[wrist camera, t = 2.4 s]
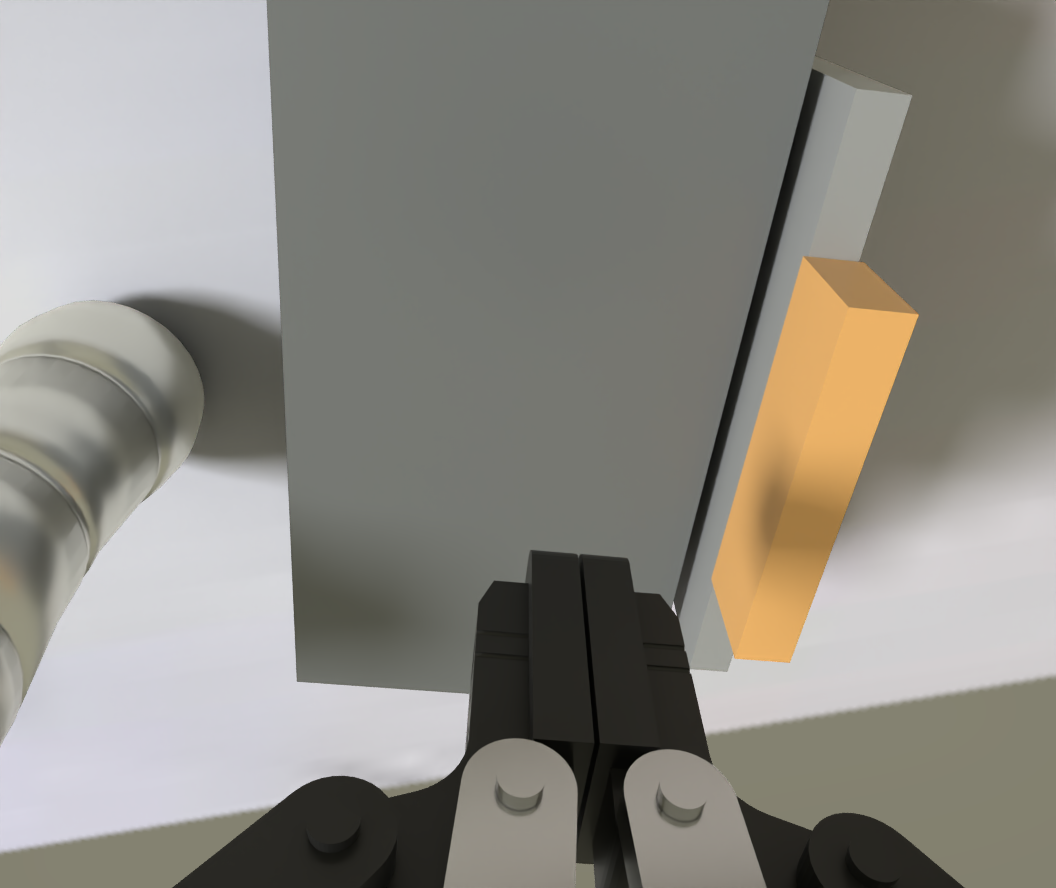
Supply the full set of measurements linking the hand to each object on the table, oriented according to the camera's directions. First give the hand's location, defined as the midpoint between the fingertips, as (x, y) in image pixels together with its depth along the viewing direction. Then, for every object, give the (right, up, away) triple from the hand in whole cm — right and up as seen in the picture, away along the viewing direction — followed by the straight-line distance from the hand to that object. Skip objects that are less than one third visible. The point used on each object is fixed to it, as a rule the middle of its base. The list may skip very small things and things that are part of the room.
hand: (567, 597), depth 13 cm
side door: (+5, +8, +14) cm, 17 cm away
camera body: (-1, +10, +14) cm, 17 cm away
